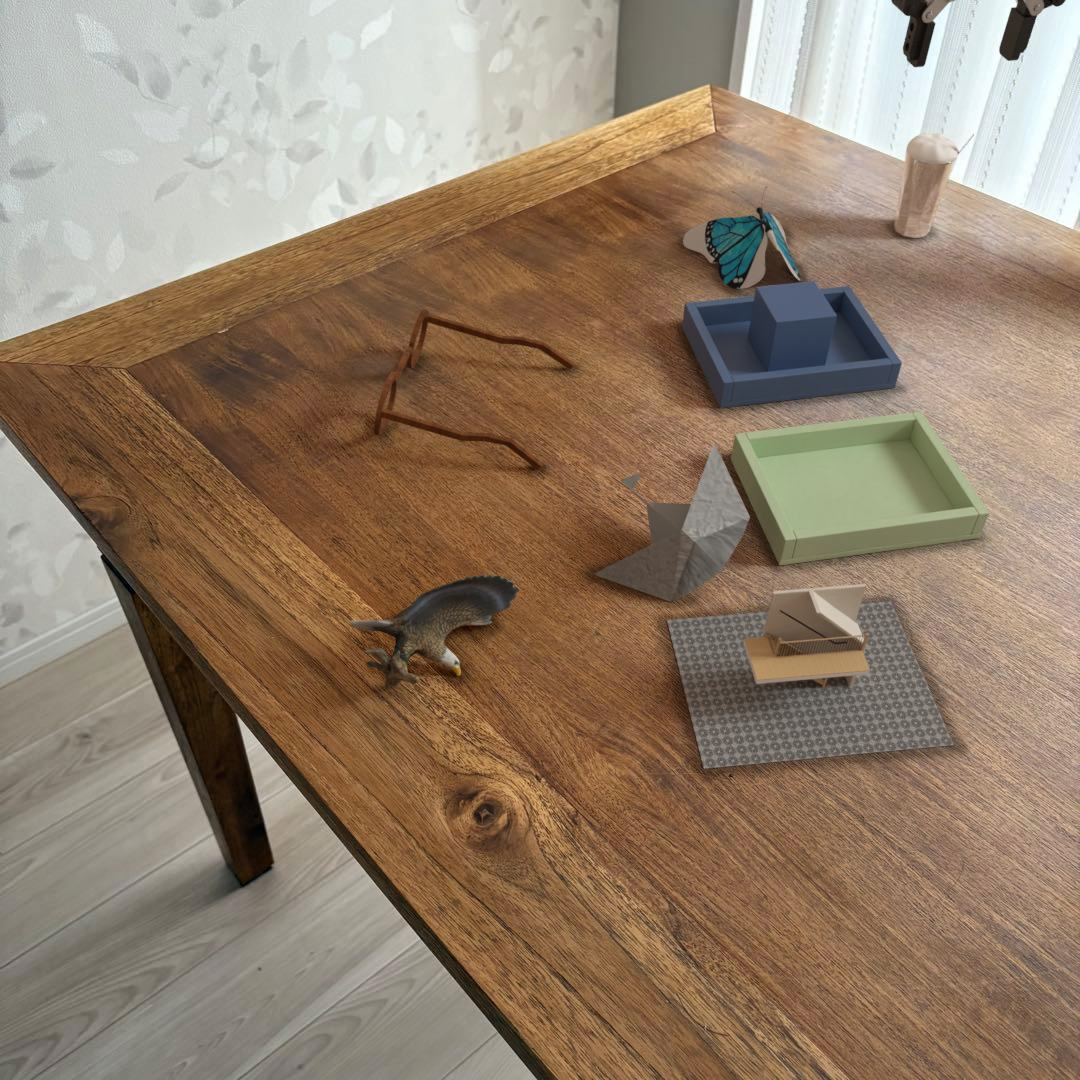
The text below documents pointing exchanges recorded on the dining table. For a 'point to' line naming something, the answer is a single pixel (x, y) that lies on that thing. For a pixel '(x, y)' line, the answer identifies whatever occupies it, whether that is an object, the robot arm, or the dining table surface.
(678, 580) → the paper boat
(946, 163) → the milkshake
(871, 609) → the architectural model
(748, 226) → the decorative butterfly
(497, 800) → the dining table surface
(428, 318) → the glasses
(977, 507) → the green tray
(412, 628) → the eagle figurine
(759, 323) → the block
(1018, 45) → the robot arm
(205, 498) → the dining table surface
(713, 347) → the blue tray
